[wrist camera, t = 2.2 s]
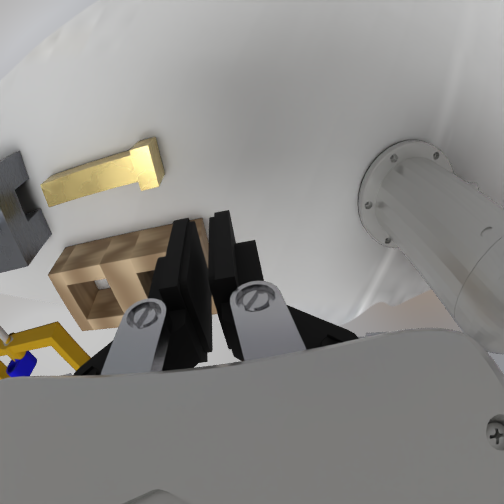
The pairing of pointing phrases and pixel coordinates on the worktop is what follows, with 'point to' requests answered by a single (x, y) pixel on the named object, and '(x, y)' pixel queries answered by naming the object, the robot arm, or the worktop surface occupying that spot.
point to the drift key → (107, 174)
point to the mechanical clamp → (34, 339)
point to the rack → (112, 274)
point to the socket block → (18, 219)
